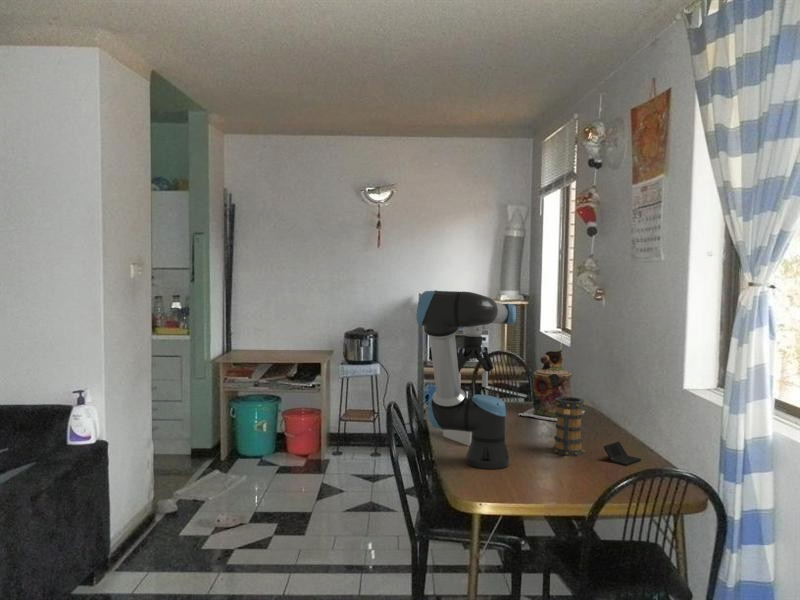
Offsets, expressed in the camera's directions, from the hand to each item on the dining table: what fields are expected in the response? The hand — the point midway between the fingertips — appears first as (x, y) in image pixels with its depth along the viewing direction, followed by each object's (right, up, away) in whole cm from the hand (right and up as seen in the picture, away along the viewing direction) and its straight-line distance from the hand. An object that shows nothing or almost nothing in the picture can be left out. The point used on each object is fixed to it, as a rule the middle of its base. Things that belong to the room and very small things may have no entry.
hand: (471, 388), depth 264 cm
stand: (0, -21, +1) cm, 21 cm away
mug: (+34, -22, -18) cm, 44 cm away
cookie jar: (+43, -20, +48) cm, 68 cm away
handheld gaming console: (+52, -23, -26) cm, 62 cm away
